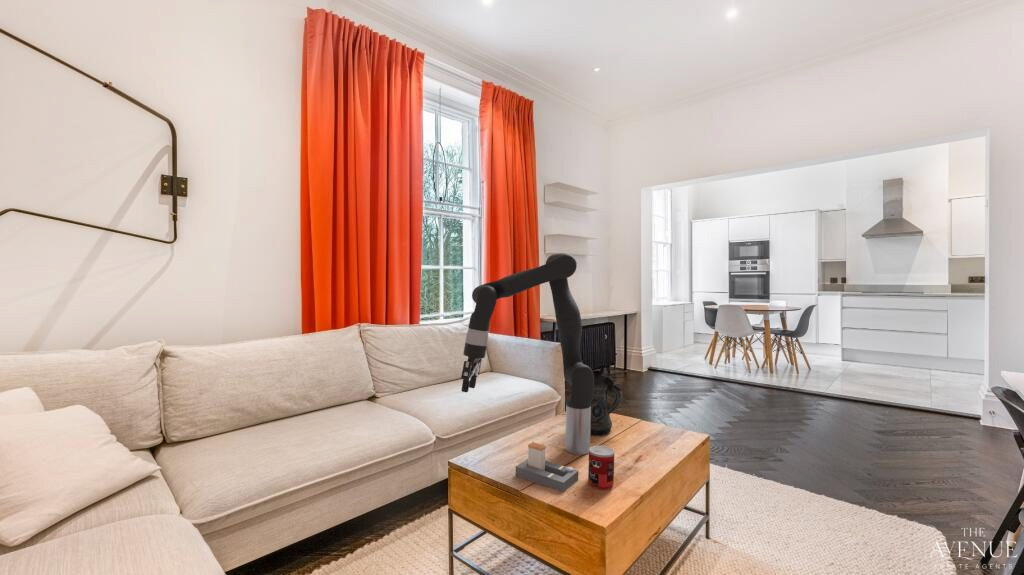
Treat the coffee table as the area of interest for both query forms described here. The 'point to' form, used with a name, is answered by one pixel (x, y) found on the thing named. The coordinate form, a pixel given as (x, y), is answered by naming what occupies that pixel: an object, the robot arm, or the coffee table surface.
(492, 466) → the coffee table surface
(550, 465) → the console
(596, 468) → the canned food
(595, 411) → the beer stein
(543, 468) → the fader tab
